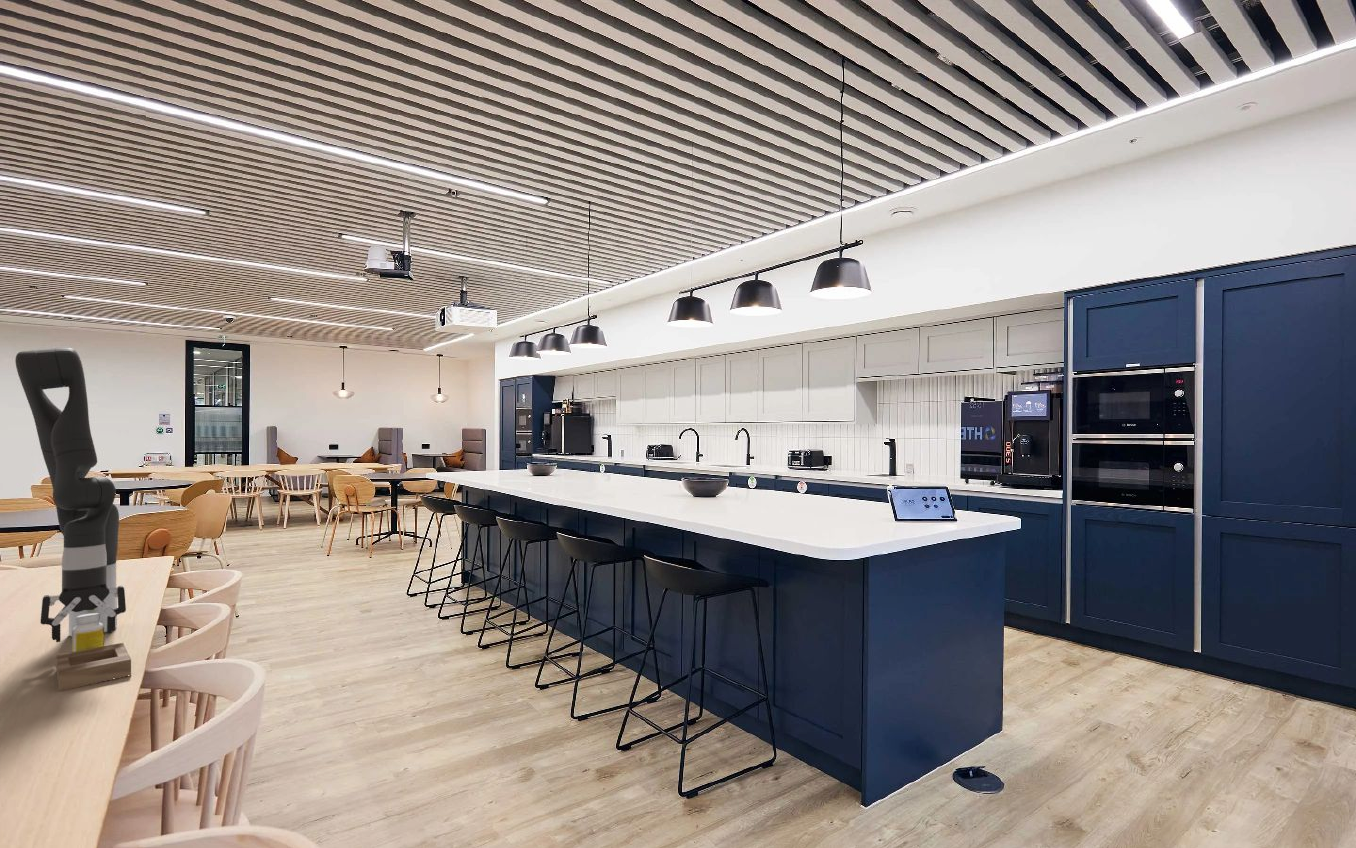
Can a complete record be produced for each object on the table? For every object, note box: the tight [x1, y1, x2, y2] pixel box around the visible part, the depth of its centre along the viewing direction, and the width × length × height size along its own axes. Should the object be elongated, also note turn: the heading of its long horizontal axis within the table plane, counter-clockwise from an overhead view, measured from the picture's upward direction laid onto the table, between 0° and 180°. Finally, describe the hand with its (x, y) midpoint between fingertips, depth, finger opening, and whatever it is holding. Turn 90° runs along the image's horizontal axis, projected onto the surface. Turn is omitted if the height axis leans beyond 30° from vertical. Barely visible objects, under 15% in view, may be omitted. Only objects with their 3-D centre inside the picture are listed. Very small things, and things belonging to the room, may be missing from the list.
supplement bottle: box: [71, 613, 105, 652], centre depth 148 cm, size 5×5×10 cm
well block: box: [55, 642, 132, 692], centre depth 138 cm, size 16×11×4 cm
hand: (84, 637), depth 147 cm, fingers open, 8 cm apart
